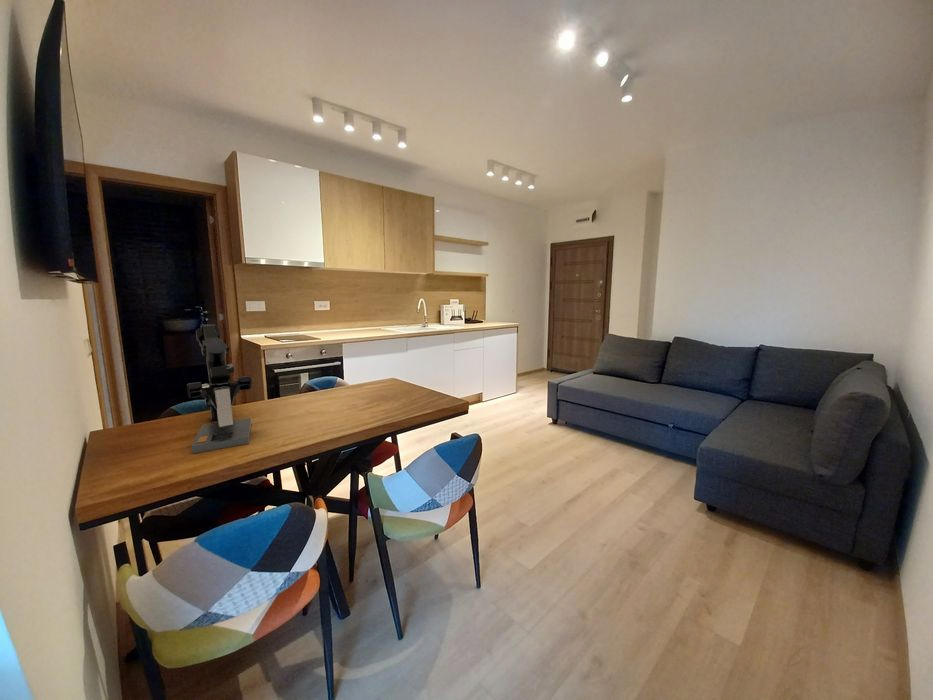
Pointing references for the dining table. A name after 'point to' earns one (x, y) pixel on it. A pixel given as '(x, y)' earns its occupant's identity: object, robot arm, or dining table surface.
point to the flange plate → (222, 436)
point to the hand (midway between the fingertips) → (224, 406)
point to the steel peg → (223, 406)
